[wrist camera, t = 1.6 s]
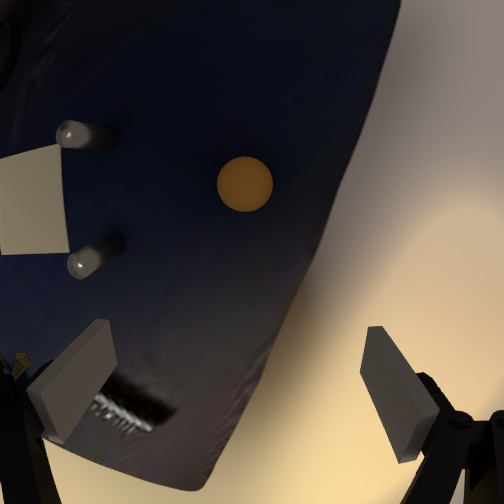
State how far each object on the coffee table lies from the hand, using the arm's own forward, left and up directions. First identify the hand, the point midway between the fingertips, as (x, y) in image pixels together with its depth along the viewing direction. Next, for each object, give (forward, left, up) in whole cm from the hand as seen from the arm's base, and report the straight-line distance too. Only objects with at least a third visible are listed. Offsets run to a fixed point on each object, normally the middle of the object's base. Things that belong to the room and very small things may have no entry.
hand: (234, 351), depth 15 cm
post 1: (-13, -16, -21) cm, 30 cm away
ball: (-7, 0, -19) cm, 20 cm away
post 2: (-1, -16, -21) cm, 27 cm away
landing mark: (-7, -30, -21) cm, 38 cm away
